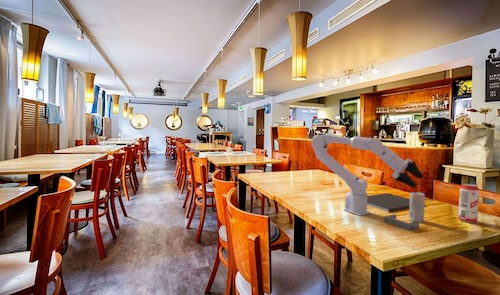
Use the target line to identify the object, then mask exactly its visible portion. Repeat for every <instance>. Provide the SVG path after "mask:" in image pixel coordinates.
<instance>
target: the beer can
mask: <svg viewBox="0 0 500 295" xmlns="http://www.w3.org/2000/svg"><path fill="white" fill-rule="evenodd" d="M479 200H480V188H479V187H478V184H472V183H462V184H461V186H460V188H459V198H458V201H459V202H458V217H457V218H458V219H459V220H460V222H462V223H467V224H475V223H477V222H478V218H479V217H478V216H479V215H478V214H479Z"/></svg>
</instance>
